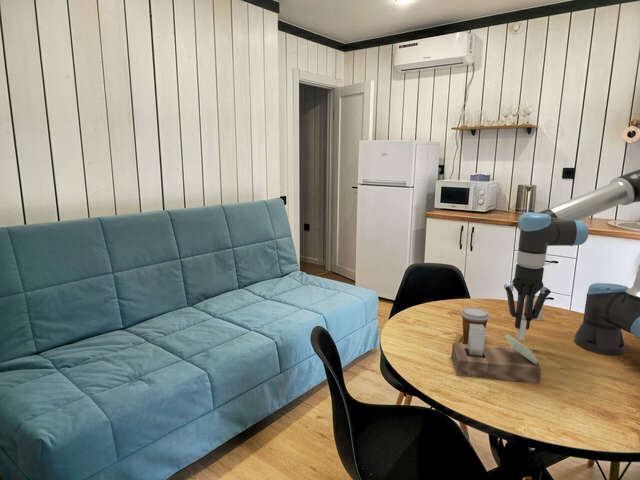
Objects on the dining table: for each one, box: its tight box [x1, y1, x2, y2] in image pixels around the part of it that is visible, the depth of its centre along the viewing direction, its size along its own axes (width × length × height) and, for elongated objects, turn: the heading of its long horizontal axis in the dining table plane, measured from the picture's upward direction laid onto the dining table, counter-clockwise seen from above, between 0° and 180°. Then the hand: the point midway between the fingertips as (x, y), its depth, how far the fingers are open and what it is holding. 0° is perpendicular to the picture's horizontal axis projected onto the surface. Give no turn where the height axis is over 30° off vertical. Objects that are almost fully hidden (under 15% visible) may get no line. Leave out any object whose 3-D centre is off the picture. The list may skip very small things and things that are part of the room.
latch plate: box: [504, 333, 540, 365], centre depth 129 cm, size 10×8×1 cm
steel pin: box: [467, 324, 487, 358], centre depth 132 cm, size 4×4×14 cm
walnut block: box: [451, 342, 543, 385], centre depth 132 cm, size 24×12×5 cm, turn 80°
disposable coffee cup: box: [460, 306, 490, 344], centre depth 150 cm, size 10×10×12 cm
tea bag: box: [522, 295, 544, 322], centre depth 173 cm, size 4×7×10 cm, turn 66°
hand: (520, 338), depth 129 cm, fingers closed
